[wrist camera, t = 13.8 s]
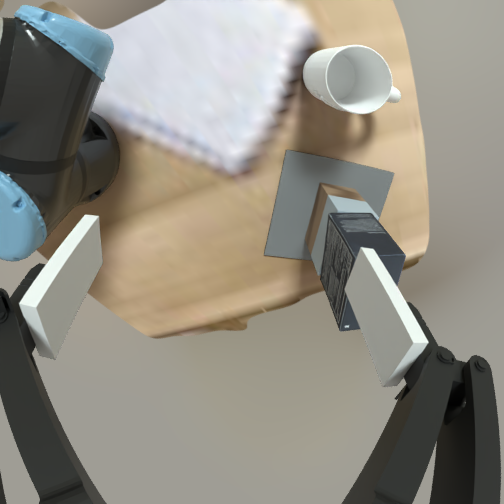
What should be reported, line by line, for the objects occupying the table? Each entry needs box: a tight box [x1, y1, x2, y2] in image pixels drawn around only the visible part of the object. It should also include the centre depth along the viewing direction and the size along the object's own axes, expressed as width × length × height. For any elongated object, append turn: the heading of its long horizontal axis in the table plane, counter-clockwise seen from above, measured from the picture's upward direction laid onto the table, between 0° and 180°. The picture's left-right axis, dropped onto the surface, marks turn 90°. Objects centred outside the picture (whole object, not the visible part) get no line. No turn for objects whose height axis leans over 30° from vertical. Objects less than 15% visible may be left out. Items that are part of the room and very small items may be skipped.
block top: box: [311, 195, 379, 275], centre depth 44 cm, size 6×10×5 cm, turn 171°
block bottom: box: [305, 182, 366, 255], centre depth 49 cm, size 6×10×5 cm, turn 171°
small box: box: [320, 212, 406, 331], centre depth 38 cm, size 11×6×10 cm, turn 1°
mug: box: [303, 45, 401, 114], centre depth 35 cm, size 8×12×12 cm
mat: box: [264, 150, 394, 260], centre depth 51 cm, size 18×18×1 cm
